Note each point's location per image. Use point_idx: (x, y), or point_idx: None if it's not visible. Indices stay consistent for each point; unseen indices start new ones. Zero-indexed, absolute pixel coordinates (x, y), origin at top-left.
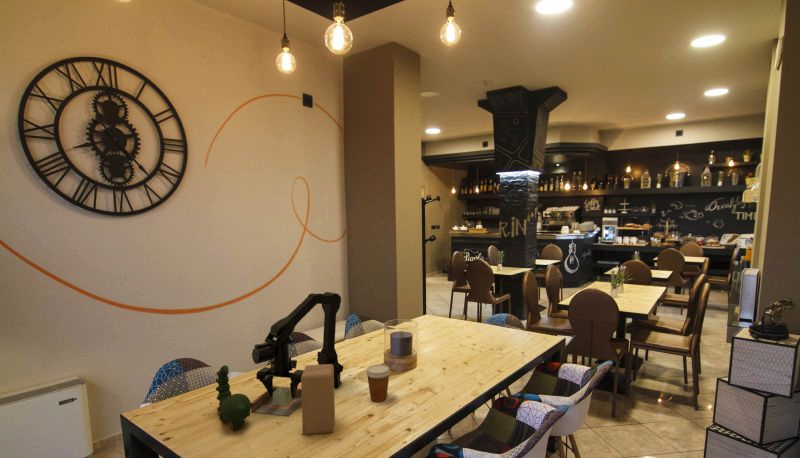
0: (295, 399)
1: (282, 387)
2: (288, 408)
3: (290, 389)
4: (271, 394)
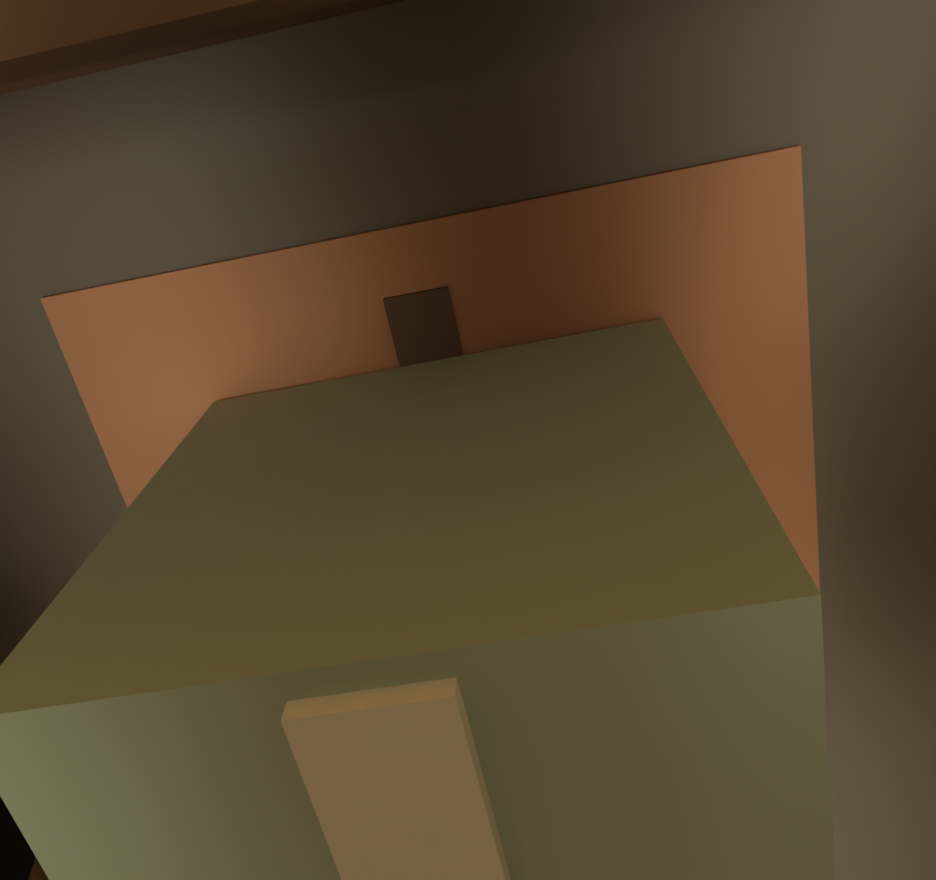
0: (742, 175)
1: (183, 725)
2: (848, 702)
3: (803, 653)
4: (20, 834)
